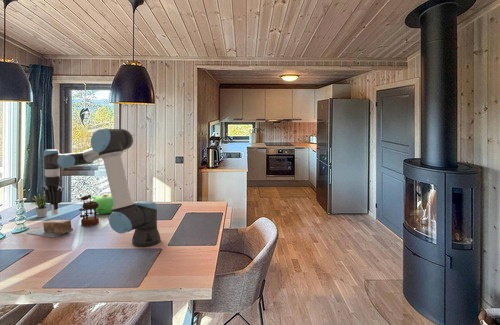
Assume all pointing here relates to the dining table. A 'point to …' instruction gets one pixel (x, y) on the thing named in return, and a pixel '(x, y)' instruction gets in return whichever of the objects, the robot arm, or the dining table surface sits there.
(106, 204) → the green rounded lump
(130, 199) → the robot arm
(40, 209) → the house plant
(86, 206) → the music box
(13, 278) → the dining table surface
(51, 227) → the brown rectangular block
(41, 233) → the mat
